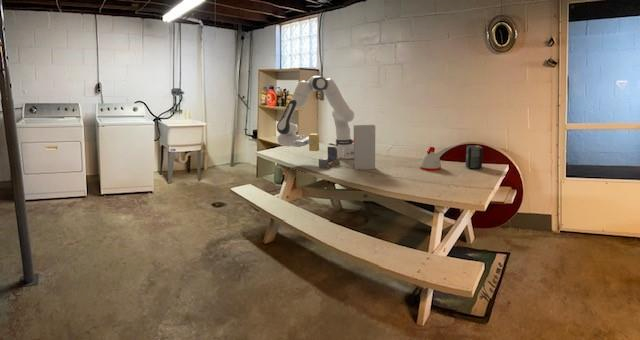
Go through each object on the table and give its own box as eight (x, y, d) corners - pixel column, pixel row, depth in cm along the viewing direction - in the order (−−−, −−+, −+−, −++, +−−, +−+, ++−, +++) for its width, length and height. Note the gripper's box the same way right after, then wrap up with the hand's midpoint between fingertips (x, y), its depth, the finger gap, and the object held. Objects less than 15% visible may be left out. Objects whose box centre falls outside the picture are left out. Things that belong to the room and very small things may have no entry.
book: (311, 149, 307) (311, 133, 304) (319, 150, 304) (318, 133, 302) (309, 150, 303) (308, 134, 300) (316, 151, 301) (316, 134, 298)
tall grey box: (373, 167, 293) (374, 124, 287) (375, 169, 288) (375, 125, 281) (353, 167, 293) (353, 125, 286) (354, 169, 288) (354, 126, 281)
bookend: (320, 166, 295) (320, 158, 293) (328, 167, 292) (328, 158, 291) (318, 167, 292) (318, 159, 291) (326, 168, 290) (326, 159, 288)
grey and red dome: (444, 168, 285) (445, 146, 282) (433, 171, 276) (434, 149, 273) (427, 165, 295) (428, 144, 292) (415, 168, 286) (416, 147, 283)
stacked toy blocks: (327, 162, 311) (326, 145, 308) (339, 163, 307) (339, 146, 304) (315, 168, 293) (314, 150, 290) (328, 169, 289) (328, 151, 286)
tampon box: (482, 169, 279) (483, 147, 276) (467, 169, 281) (468, 147, 278) (479, 165, 290) (480, 145, 287) (465, 165, 292) (466, 144, 288)
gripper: (291, 139, 298) (308, 139, 292) (304, 134, 316) (320, 135, 310) (291, 147, 299) (309, 148, 294) (304, 142, 317) (320, 143, 312)
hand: (315, 141), depth 302 cm, fingers closed on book, 4 cm apart
